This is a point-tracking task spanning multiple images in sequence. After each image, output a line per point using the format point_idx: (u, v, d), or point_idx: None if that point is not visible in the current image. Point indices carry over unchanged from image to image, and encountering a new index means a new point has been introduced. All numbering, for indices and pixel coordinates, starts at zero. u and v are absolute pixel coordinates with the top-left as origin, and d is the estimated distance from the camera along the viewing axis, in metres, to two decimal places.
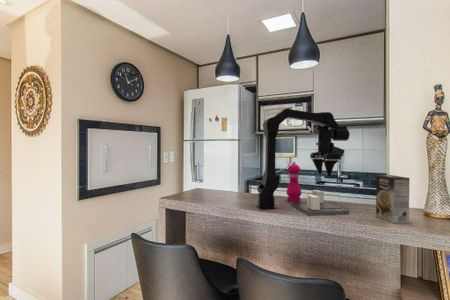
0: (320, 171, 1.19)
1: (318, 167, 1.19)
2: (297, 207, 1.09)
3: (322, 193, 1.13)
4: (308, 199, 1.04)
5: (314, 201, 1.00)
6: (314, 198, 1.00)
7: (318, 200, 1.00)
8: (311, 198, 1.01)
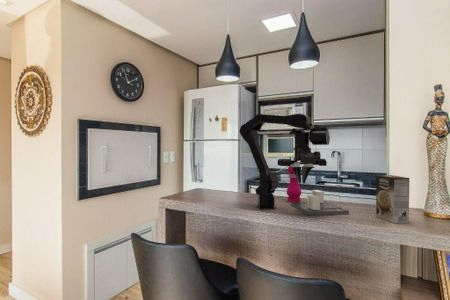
0: (303, 180, 1.02)
1: (302, 175, 1.03)
2: (297, 207, 1.09)
3: (322, 193, 1.13)
4: (308, 199, 1.04)
5: (314, 201, 1.00)
6: (314, 198, 1.00)
7: (318, 200, 1.00)
8: (311, 198, 1.01)
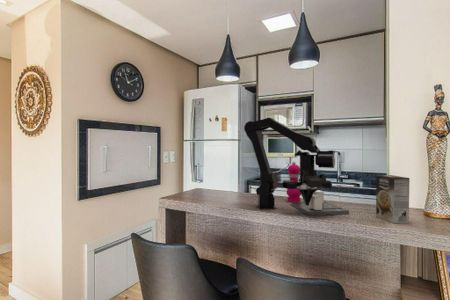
0: None
1: None
2: (297, 207, 1.09)
3: (322, 193, 1.13)
4: None
5: (316, 201, 1.00)
6: (316, 198, 1.00)
7: (320, 200, 1.00)
8: (313, 198, 1.01)
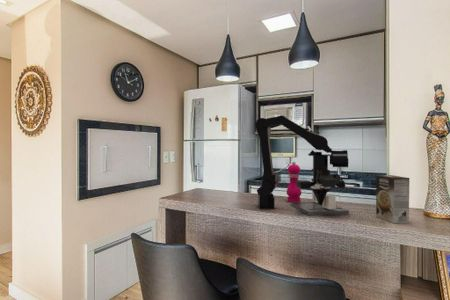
0: None
1: None
2: (297, 207, 1.09)
3: None
4: None
5: (330, 201, 1.01)
6: (330, 198, 1.01)
7: (334, 200, 1.01)
8: (327, 198, 1.02)
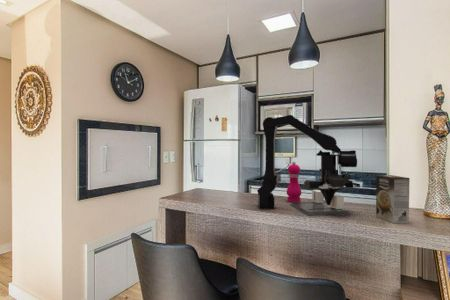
0: None
1: None
2: (297, 207, 1.09)
3: None
4: None
5: (338, 200, 1.01)
6: (338, 197, 1.01)
7: (342, 199, 1.02)
8: (335, 197, 1.02)
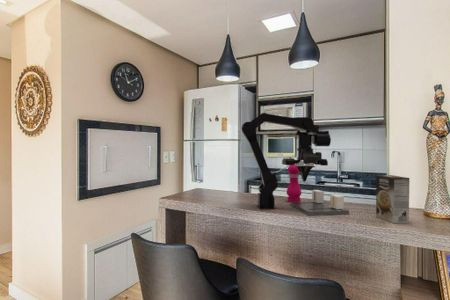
0: None
1: None
2: (297, 207, 1.09)
3: (322, 193, 1.13)
4: (331, 198, 1.05)
5: (338, 200, 1.01)
6: (338, 197, 1.01)
7: (342, 199, 1.02)
8: (335, 197, 1.02)
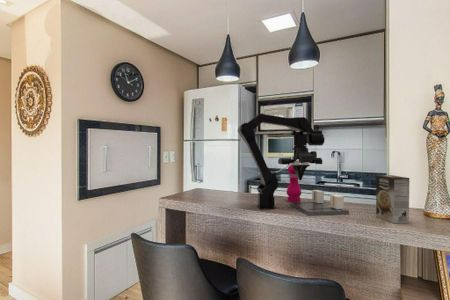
0: None
1: None
2: (297, 207, 1.09)
3: (322, 193, 1.13)
4: (331, 198, 1.05)
5: (338, 200, 1.01)
6: (338, 197, 1.01)
7: (342, 199, 1.02)
8: (335, 197, 1.02)
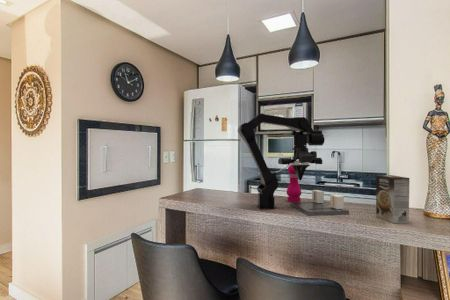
0: None
1: None
2: (297, 207, 1.09)
3: (322, 193, 1.13)
4: (331, 198, 1.05)
5: (338, 200, 1.01)
6: (338, 197, 1.01)
7: (342, 199, 1.02)
8: (335, 197, 1.02)
